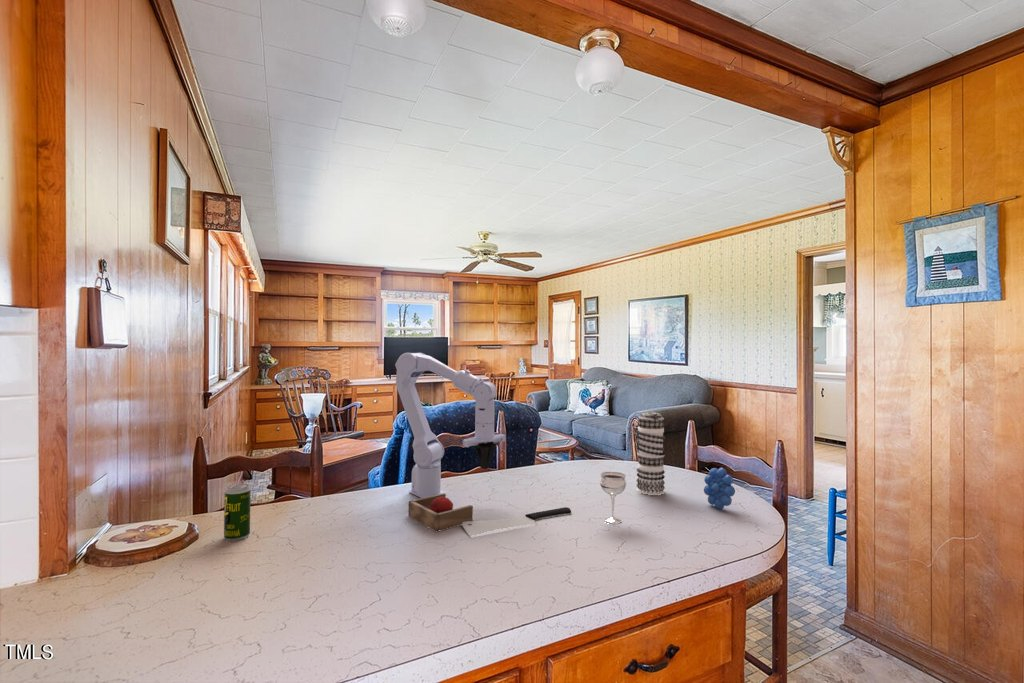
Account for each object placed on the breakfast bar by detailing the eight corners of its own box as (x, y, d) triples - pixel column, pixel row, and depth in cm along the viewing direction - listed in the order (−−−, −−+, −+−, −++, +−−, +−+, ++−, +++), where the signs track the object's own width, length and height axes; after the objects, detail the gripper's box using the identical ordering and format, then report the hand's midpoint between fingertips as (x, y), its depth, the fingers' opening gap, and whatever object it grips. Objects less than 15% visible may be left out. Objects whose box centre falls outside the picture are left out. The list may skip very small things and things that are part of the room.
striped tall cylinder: (631, 487, 155) (631, 411, 155) (658, 487, 156) (658, 411, 156) (641, 496, 146) (642, 415, 146) (670, 495, 147) (671, 414, 147)
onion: (445, 490, 129) (420, 500, 124) (457, 495, 125) (432, 505, 119) (447, 511, 129) (422, 521, 124) (459, 517, 125) (434, 528, 120)
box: (408, 516, 127) (408, 501, 127) (443, 507, 134) (443, 493, 134) (436, 531, 116) (436, 515, 116) (472, 521, 123) (472, 505, 123)
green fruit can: (231, 533, 114) (232, 483, 114) (254, 532, 115) (255, 483, 115) (218, 542, 109) (219, 489, 109) (242, 542, 109) (243, 489, 109)
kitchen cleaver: (473, 538, 111) (459, 519, 120) (473, 545, 111) (459, 526, 120) (584, 519, 125) (564, 503, 134) (583, 525, 125) (563, 509, 134)
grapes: (746, 514, 131) (746, 470, 131) (726, 516, 129) (726, 472, 129) (717, 501, 142) (717, 460, 142) (698, 502, 140) (698, 462, 140)
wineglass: (615, 527, 120) (615, 480, 120) (594, 519, 125) (594, 474, 125) (631, 521, 125) (631, 475, 125) (610, 514, 130) (610, 470, 130)
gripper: (473, 426, 133) (472, 475, 133) (511, 421, 143) (511, 466, 143) (458, 423, 139) (458, 469, 139) (497, 419, 148) (496, 462, 148)
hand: (484, 468), depth 141 cm, fingers closed
